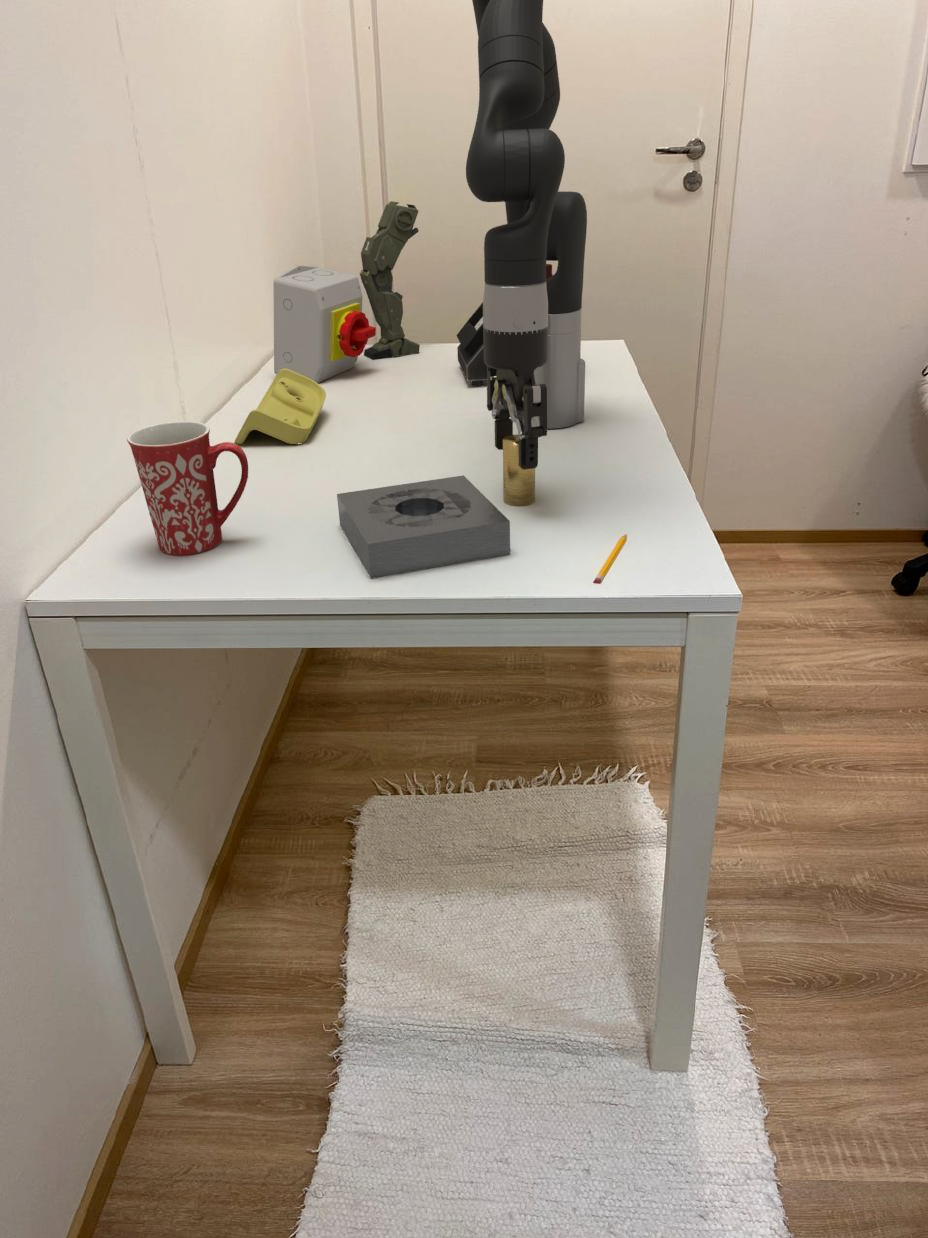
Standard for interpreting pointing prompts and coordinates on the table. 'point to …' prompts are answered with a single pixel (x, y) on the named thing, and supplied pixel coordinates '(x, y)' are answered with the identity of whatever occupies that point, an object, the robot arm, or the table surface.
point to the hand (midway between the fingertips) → (515, 457)
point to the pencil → (610, 559)
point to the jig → (422, 525)
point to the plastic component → (286, 409)
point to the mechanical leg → (387, 279)
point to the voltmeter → (476, 345)
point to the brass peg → (516, 475)
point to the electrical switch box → (318, 322)
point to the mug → (183, 484)
